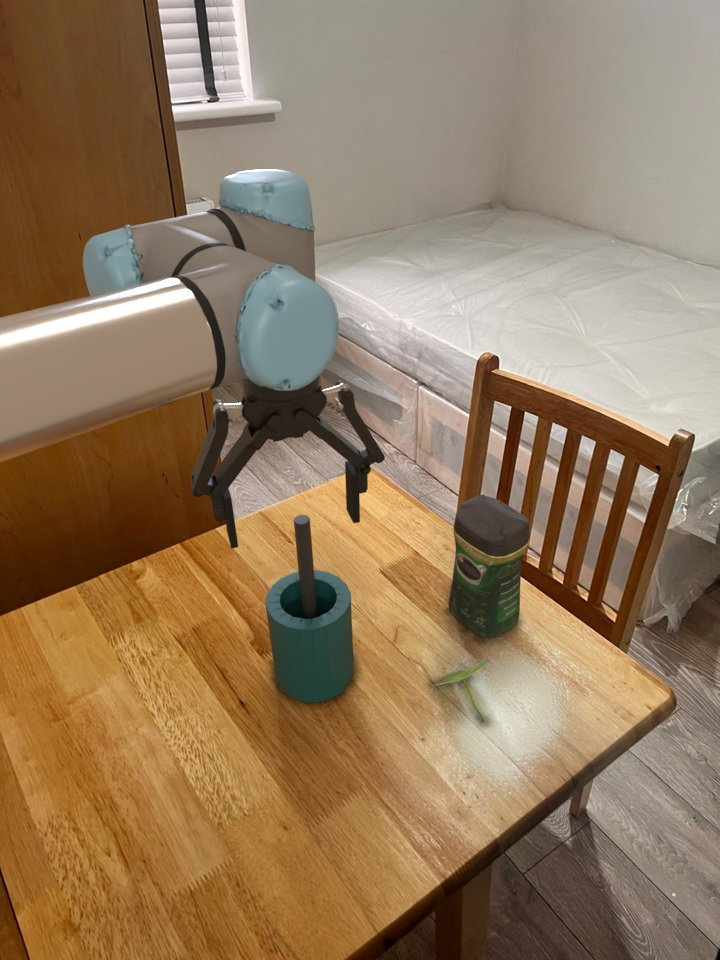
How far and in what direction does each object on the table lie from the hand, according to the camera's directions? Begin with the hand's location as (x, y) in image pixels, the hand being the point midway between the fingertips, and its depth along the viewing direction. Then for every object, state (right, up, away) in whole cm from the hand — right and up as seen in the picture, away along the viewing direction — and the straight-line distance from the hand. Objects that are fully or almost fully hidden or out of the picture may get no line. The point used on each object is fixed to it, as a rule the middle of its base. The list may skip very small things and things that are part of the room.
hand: (294, 528), depth 80 cm
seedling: (+20, -22, +11) cm, 32 cm away
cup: (+1, -20, +15) cm, 25 cm away
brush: (+1, -19, +14) cm, 24 cm away
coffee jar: (+25, -14, +23) cm, 36 cm away
